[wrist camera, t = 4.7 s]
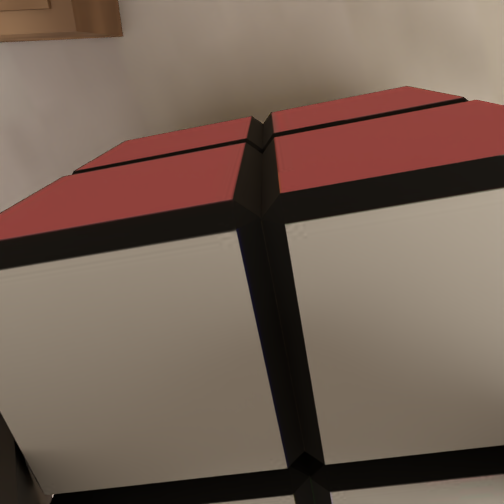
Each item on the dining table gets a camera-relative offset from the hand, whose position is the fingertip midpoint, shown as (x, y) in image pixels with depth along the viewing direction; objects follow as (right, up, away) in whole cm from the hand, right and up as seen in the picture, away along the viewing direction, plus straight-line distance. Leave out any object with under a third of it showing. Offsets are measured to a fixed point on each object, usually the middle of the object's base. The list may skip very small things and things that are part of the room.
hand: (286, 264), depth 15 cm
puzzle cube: (0, +1, +1) cm, 2 cm away
